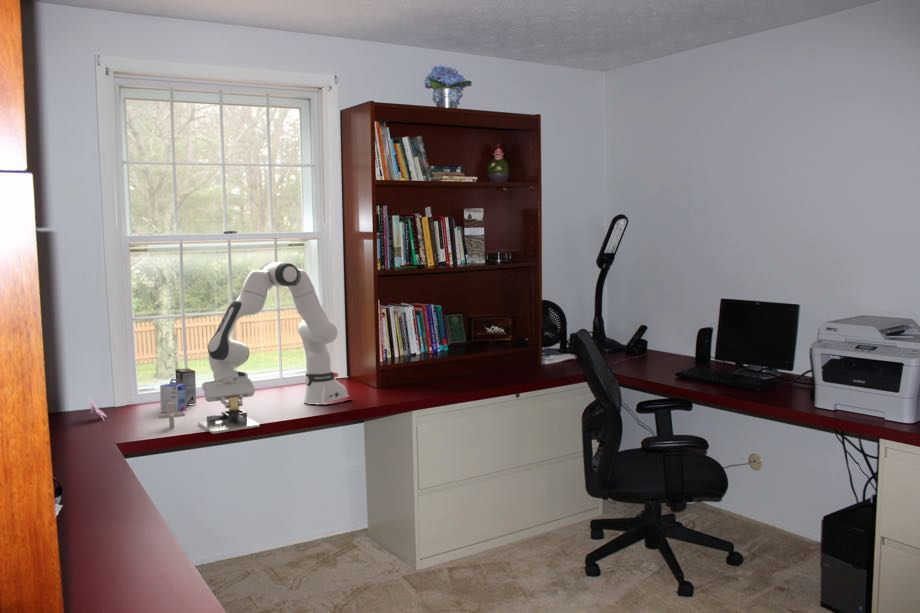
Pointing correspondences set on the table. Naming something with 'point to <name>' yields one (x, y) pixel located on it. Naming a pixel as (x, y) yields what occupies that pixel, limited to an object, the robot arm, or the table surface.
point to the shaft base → (228, 422)
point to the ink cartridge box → (173, 396)
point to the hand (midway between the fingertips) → (234, 406)
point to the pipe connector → (171, 415)
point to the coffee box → (187, 384)
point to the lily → (95, 409)
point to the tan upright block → (234, 405)
